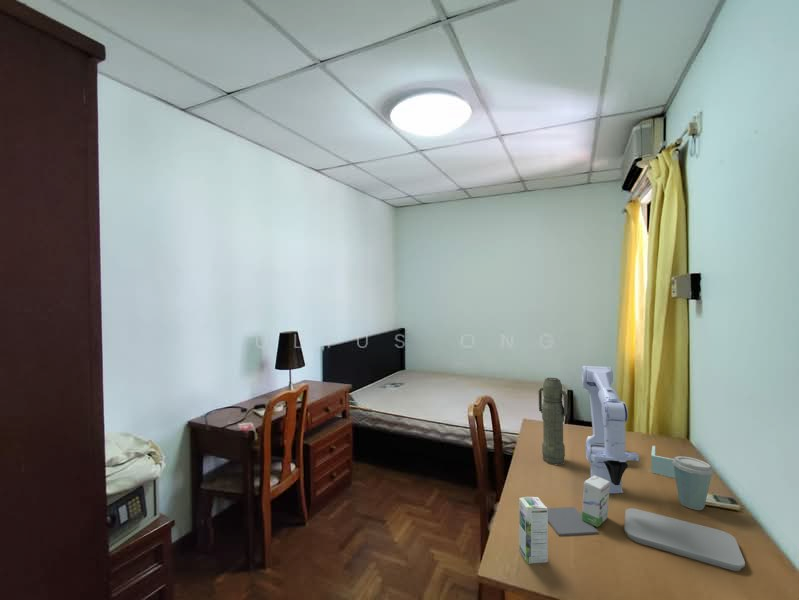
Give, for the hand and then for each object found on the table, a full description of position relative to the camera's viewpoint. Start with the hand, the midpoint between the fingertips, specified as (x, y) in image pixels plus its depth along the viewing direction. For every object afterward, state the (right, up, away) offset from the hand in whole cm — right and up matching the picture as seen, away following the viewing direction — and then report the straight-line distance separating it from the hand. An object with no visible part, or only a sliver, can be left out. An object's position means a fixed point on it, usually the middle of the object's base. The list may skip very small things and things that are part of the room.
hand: (615, 483), depth 115 cm
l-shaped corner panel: (+40, -11, +30) cm, 51 cm away
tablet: (+11, -11, -11) cm, 19 cm away
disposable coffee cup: (+29, -10, +6) cm, 32 cm away
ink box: (-7, -10, -2) cm, 13 cm away
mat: (-16, -11, -2) cm, 20 cm away
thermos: (-2, -11, +41) cm, 42 cm away
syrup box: (-32, -11, -17) cm, 38 cm away
